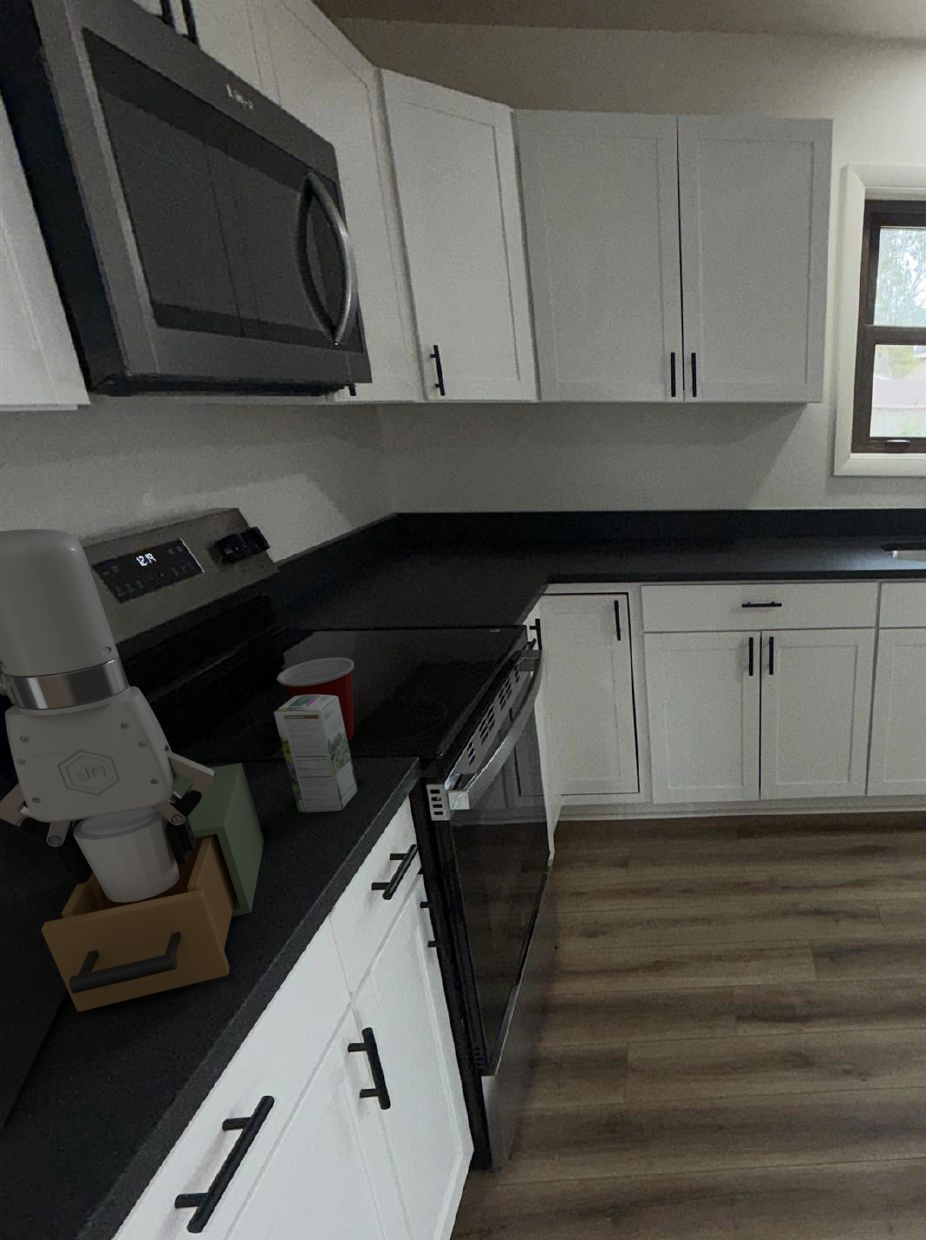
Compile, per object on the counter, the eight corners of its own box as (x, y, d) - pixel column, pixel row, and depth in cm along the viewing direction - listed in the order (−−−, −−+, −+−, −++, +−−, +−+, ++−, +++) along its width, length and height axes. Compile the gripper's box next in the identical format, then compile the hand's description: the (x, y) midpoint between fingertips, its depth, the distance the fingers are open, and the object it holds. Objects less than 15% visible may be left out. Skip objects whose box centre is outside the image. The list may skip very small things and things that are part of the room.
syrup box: (316, 793, 110) (291, 694, 104) (360, 792, 110) (337, 693, 104) (298, 813, 105) (270, 710, 99) (344, 811, 105) (319, 708, 99)
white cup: (134, 912, 71) (108, 844, 68) (79, 898, 73) (52, 831, 70) (204, 872, 77) (184, 808, 74) (152, 860, 79) (130, 797, 76)
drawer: (221, 1009, 70) (192, 926, 66) (60, 1050, 66) (20, 964, 62) (245, 889, 87) (223, 818, 83) (119, 916, 82) (90, 843, 79)
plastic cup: (280, 743, 126) (261, 670, 121) (345, 721, 134) (330, 653, 129) (317, 759, 120) (299, 683, 116) (383, 735, 129) (368, 664, 124)
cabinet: (251, 913, 84) (223, 825, 80) (106, 945, 80) (69, 853, 75) (264, 840, 98) (241, 762, 94) (141, 864, 93) (111, 783, 89)
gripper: (-86, 714, 60) (3, 911, 67) (185, 682, 67) (240, 864, 74) (-46, 685, 66) (32, 868, 74) (199, 658, 73) (249, 828, 80)
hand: (136, 865), depth 74 cm, fingers closed on white cup, 6 cm apart
